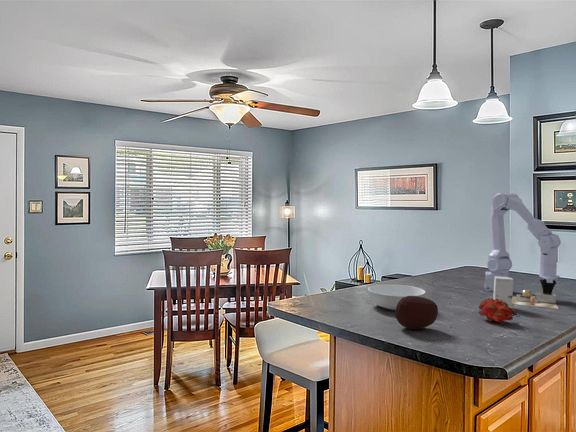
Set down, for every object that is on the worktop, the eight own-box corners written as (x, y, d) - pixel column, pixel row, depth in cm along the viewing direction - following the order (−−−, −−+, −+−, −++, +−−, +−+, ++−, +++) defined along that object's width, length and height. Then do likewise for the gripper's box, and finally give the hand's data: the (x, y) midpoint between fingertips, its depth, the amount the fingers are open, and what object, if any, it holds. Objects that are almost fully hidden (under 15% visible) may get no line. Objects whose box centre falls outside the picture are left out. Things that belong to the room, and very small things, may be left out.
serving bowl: (356, 303, 171) (357, 286, 171) (401, 299, 179) (401, 282, 179) (389, 317, 152) (390, 297, 152) (437, 312, 160) (438, 293, 160)
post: (522, 300, 178) (522, 290, 178) (522, 299, 180) (522, 289, 180) (530, 301, 177) (531, 291, 176) (530, 299, 179) (530, 290, 179)
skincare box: (494, 310, 164) (495, 277, 163) (492, 307, 168) (493, 276, 168) (512, 312, 162) (513, 279, 162) (510, 309, 166) (511, 277, 166)
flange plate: (517, 300, 177) (517, 292, 177) (516, 297, 183) (516, 289, 183) (556, 304, 171) (556, 296, 171) (554, 300, 177) (554, 292, 177)
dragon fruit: (475, 321, 154) (513, 334, 146) (472, 311, 148) (510, 323, 140) (484, 300, 157) (521, 311, 149) (480, 289, 151) (518, 300, 143)
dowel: (530, 305, 170) (530, 297, 170) (530, 304, 171) (530, 296, 171) (534, 305, 170) (535, 297, 169) (534, 304, 171) (534, 297, 171)
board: (507, 305, 172) (507, 303, 172) (506, 297, 187) (506, 295, 187) (558, 310, 165) (558, 308, 165) (553, 302, 180) (553, 300, 180)
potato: (443, 334, 133) (444, 300, 133) (400, 334, 132) (401, 299, 132) (429, 323, 144) (430, 292, 144) (389, 323, 143) (390, 292, 143)
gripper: (562, 267, 170) (561, 302, 171) (557, 262, 183) (556, 295, 184) (541, 266, 173) (540, 300, 174) (538, 261, 186) (536, 293, 187)
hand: (547, 297), depth 179 cm, fingers closed
